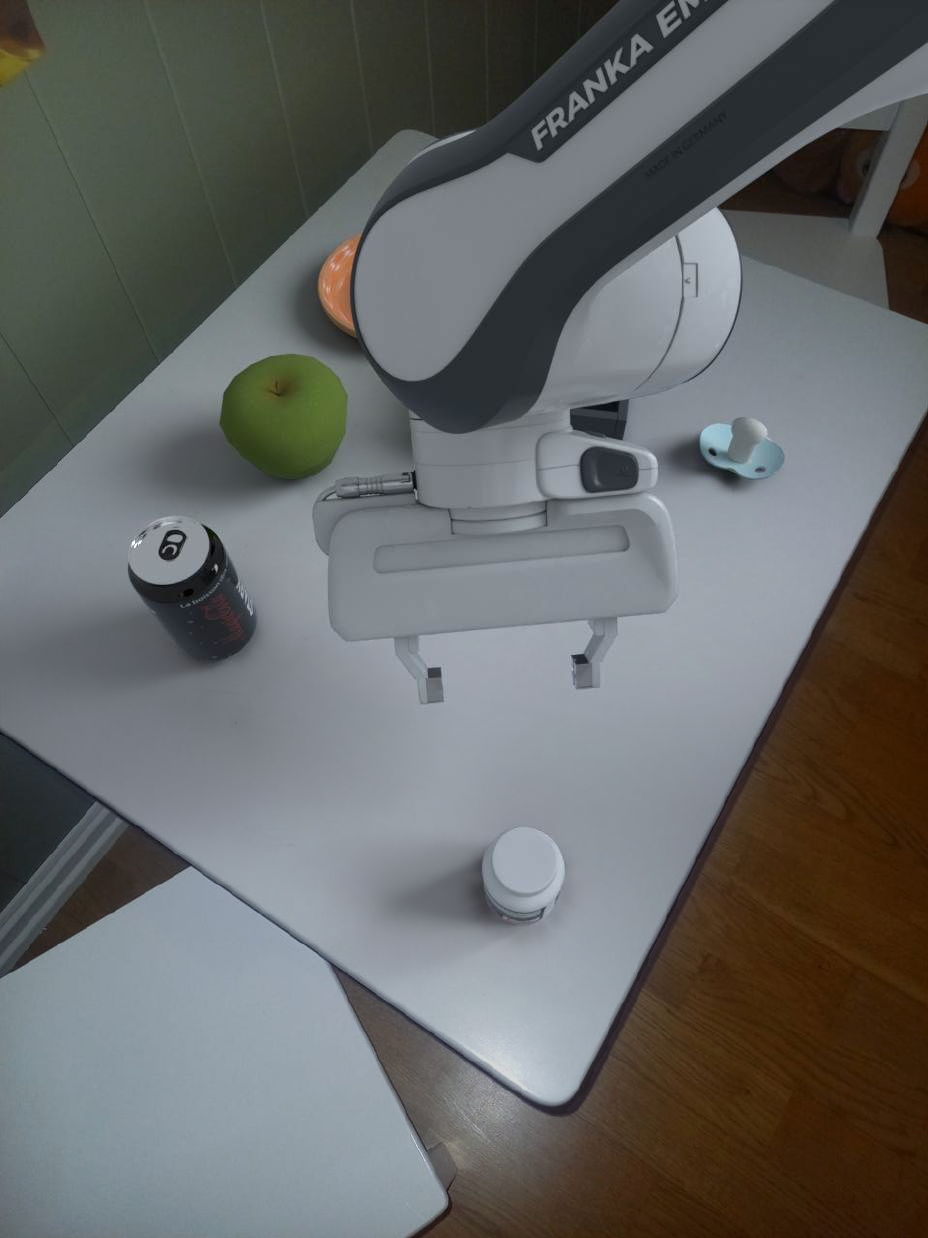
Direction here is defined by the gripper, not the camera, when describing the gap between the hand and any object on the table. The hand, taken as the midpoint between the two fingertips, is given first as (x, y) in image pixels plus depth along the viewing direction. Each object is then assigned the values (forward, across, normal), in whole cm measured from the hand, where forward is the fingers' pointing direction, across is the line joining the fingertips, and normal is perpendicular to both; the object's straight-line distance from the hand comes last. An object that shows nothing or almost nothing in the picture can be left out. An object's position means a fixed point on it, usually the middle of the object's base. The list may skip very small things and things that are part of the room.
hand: (509, 693), depth 52 cm
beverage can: (0, -22, +19) cm, 29 cm away
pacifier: (-9, +24, +28) cm, 38 cm away
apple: (-12, -15, +31) cm, 36 cm away
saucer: (-26, -5, +44) cm, 51 cm away
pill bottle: (+16, 0, +3) cm, 16 cm away
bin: (-14, +8, +32) cm, 36 cm away
